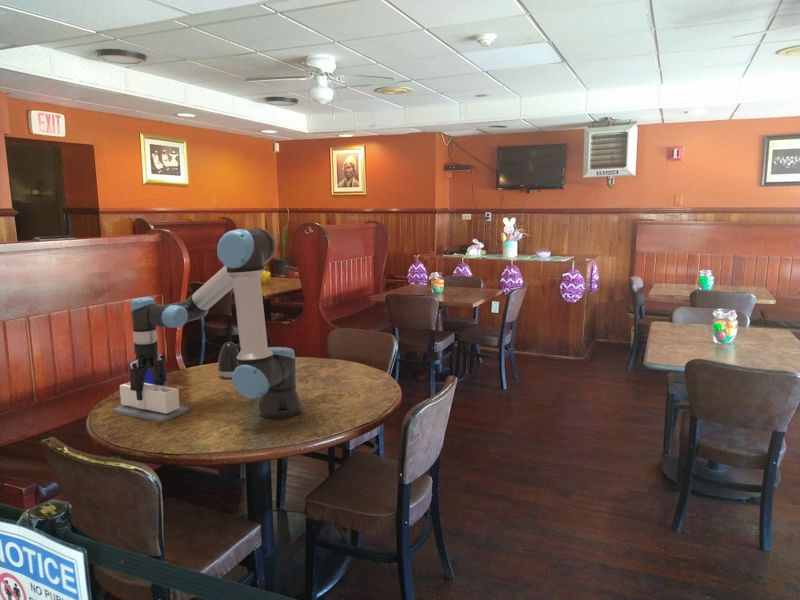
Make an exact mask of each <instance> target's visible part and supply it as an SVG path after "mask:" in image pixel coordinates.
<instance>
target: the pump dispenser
mask: <svg viewBox="0 0 800 600" xmlns="http://www.w3.org/2000/svg"><path fill="white" fill-rule="evenodd" d="M239 348H240V343H239V344H235V343H234V342H231V341H228V342H225V343H224V344H223V345H222V347H221V350H220V353H219V355H218V359H217V361H218V362H217V370H218V372H219V374H220V375H221V377H223V378H225V379H232V374H233V372H234V370H235V369H236V367H238V366H237V356H238V354H239V353H240V351H239Z"/></svg>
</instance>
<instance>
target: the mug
mask: <svg viewBox="0 0 800 600" xmlns="http://www.w3.org/2000/svg"><path fill="white" fill-rule="evenodd" d="M137 368H138V367H137ZM165 374H166V375H167V368H166V367H165ZM166 382H167V380H166V381H165V382H164V384H163V385H162V386H165V384H166ZM144 383H148V384H154V385H156V384H155V382H154V379H153V376H152V374H151V371H150V369H149V368H148V369H147V372H146V375H145V380H144Z"/></svg>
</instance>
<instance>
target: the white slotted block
mask: <svg viewBox="0 0 800 600" xmlns="http://www.w3.org/2000/svg"><path fill="white" fill-rule="evenodd" d="M158 386H159V385H154V384H148V383H144V386H143V391H145V399H146V409H147V410H151V411H156V412H161V413H169V412H171V411H174V410H176V409H179V408H180V407H181V406H180V393H179V392H180V391H179V388H175V387H170V386H165V385H163V386H162V391H157V387H158ZM119 394H120V404H121V405H122V406H123V405H127V406H132V407H137V408H139V402H138V400H137V396H136V391H132V390H131V389H130V381H129V382H126V383H123V384H120V385H119ZM179 406H180V407H179Z"/></svg>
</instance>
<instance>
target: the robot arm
mask: <svg viewBox="0 0 800 600" xmlns="http://www.w3.org/2000/svg"><path fill="white" fill-rule="evenodd" d="M216 249H217V251H216V253H217V254H216V255H217V257H218V259H219V261H220V263H222V265H223V267H222V268H221V269H220V270H218V271H217V272H216V273H215V274H214V275H213V276H212V277H210V278H209V279H208V280H207V281H205V283H204V284H203V285H202V286H200V287H199V288H198V289H197V290H196V291H195V292H193V293H192V295H190V296H189V297H188V298H187V299H186V300H183V301H178V302H173V303H169V304H157V303H156V302H155V298H153V297H149V296H147V297H136V298H132V299H131V301H130V314H131V322H132V334H133V342H134V344H133V347H134V348H133V349H134V354H135V360H134V361H132V362H128V368H129V382H130V389H131V390H132V391H136V396H137V400H138V402H139V408H140V409H146V399H145V391H143V386H144V380H145V375H146V372H147V369H148V368H149V369H150V371H151V374H152V376H153V379H154V382H155V384H156V385H159V386H162V385H163V384H164V382H165V381H166V382H167V373H166V374H165V368H166V367H165V359H166V358H165V357H166V356H165V354H160V353H159V354H158V351H159V345H158V341H157V340H158V334H157V333H158V332H157V327H161V328H171V329H174V328H182V327H184V325H185V324H187V323H188V322H191V321H194V320H196V321H197V320H199V319H201V318H204V317H206V316H207V314H208V313H209V310H210V308H212V307H213V306H214V305H215V304H216V303H217V302H218V301H220V300H221V299H222V298H223V297H224V296H226V294H228V293H229V292H230V291H231V290H232V289H233V293H234V303H235V310H236V311H235V312H236V320H237V321H236V322H237V330H238V337H239V344H240V347H239V348H240V351H239V354H238V356H237V366H238V367H236V369H235V370H234V372H233V374H232V378H231V382H232V385H233V388H234V389H235V391H236V392H237V393H239V394H240V395H241V396H242V397H244V398H247V399H256V398H259V397H260V400H259V403H258V406H257V410H258V411H257V413H258V415H259V416H260V417H262V418H264V419H265V418H266V419H273V420H274V419H276V420H277V419H286V418H291V417H294V416H296V415H299V414H300V413H301V412H302V410H303V406H302V405H303V404H302V402H301V399H300V396H299V393H298V390H297V381H296V380H297V377H296V376H297V374H296V356H295V350H294V349H293V348H290V347H286V346H285V347H282V346H272V347H271V346H269V345H268V336H267V329H266V327H267V326H266V318H265V311H264V309H265V308H264V302H263V301H264V299H263V298H264V297H263V291H262V281H261V275H262V274H263V273H264V271H265V265H266V264H267V263H268V262H270V261H271V259H273V257H274V255H275V254H276V250H277V244H276V241H275V238H274V236H273V235H272V234H271V233H270V232H269V231H268V230H266V229H263V228H259V227H258V228H256V227H255V228H238V229H234V230H229V231H227V232H226V233H224V234H223V235H222V237H221V238H220V239H219V241H218V244H217V248H216ZM268 346H269V347H268ZM137 367H138V368H137ZM166 382H165V383H166ZM164 385H165V384H164ZM164 385H163V386H164Z"/></svg>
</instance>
